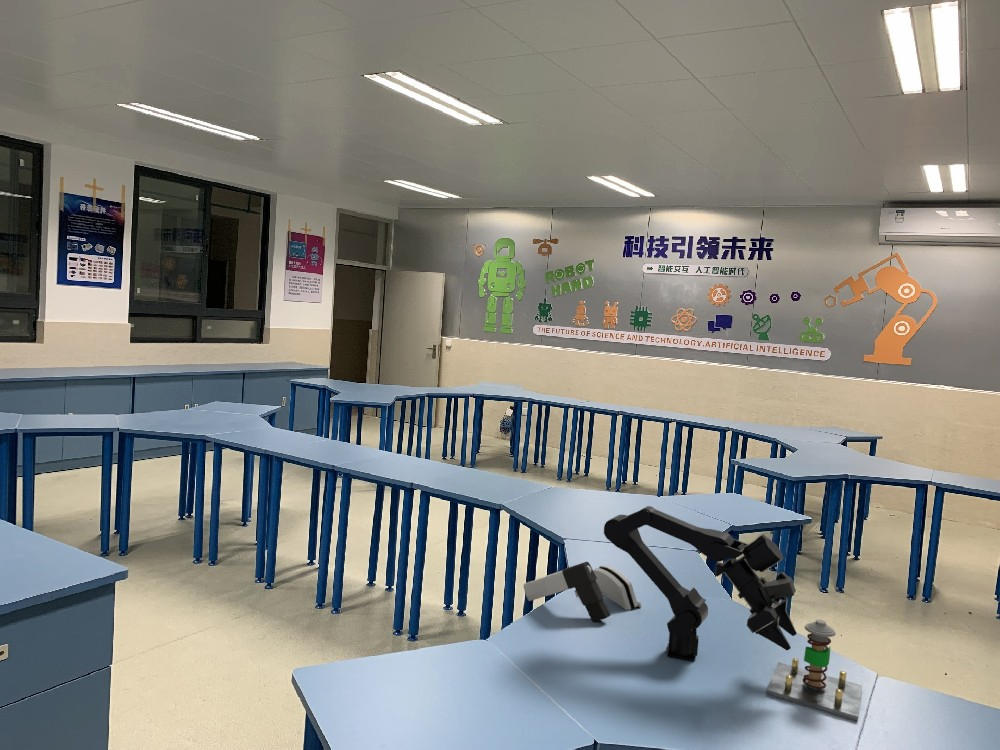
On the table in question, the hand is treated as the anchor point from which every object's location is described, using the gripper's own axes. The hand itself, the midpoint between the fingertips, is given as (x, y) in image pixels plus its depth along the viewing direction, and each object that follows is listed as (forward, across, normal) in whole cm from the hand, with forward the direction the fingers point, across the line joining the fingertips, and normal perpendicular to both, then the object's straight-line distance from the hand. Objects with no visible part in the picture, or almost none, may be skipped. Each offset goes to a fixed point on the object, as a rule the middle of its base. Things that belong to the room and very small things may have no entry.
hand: (792, 642), depth 164 cm
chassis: (+11, 0, +3) cm, 11 cm away
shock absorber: (+10, 0, +2) cm, 10 cm away
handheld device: (-33, +6, +49) cm, 60 cm away
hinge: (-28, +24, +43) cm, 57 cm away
